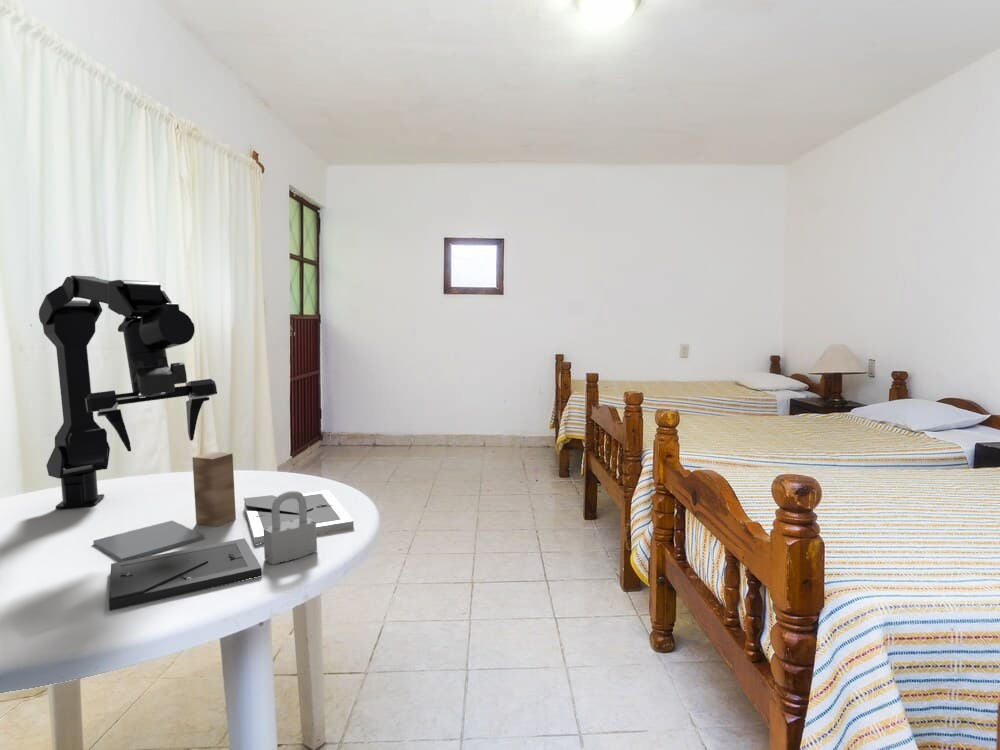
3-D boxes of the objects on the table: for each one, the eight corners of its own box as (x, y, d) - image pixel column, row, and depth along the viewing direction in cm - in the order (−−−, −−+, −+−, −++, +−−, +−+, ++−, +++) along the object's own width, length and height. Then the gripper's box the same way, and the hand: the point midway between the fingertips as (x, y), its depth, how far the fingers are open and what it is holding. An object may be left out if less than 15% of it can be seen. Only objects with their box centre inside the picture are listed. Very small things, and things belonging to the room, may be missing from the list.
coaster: (93, 544, 95) (93, 540, 95) (172, 523, 104) (172, 520, 104) (122, 562, 88) (121, 558, 88) (204, 538, 97) (204, 535, 97)
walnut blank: (196, 524, 104) (192, 457, 103) (216, 516, 108) (212, 451, 107) (216, 527, 103) (212, 459, 101) (235, 518, 107) (232, 453, 106)
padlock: (274, 566, 86) (270, 499, 85) (262, 559, 89) (259, 493, 88) (319, 553, 91) (316, 489, 90) (307, 546, 94) (304, 484, 93)
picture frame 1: (109, 616, 73) (262, 580, 83) (108, 598, 73) (261, 565, 82) (111, 576, 84) (245, 549, 94) (110, 561, 84) (244, 535, 94)
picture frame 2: (244, 512, 113) (254, 549, 94) (243, 498, 112) (254, 532, 94) (329, 500, 120) (353, 532, 101) (328, 486, 119) (353, 516, 101)
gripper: (80, 354, 88) (97, 458, 88) (216, 342, 99) (231, 434, 99) (79, 362, 97) (94, 457, 97) (203, 350, 108) (217, 435, 108)
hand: (161, 445), depth 100 cm, fingers open, 9 cm apart
